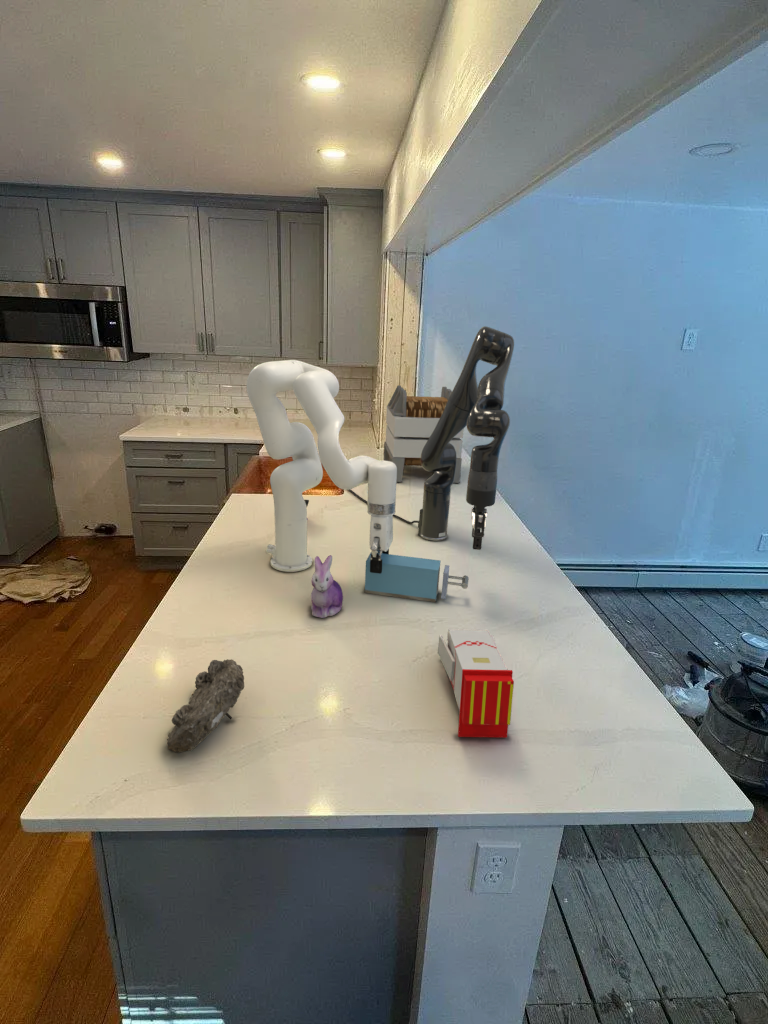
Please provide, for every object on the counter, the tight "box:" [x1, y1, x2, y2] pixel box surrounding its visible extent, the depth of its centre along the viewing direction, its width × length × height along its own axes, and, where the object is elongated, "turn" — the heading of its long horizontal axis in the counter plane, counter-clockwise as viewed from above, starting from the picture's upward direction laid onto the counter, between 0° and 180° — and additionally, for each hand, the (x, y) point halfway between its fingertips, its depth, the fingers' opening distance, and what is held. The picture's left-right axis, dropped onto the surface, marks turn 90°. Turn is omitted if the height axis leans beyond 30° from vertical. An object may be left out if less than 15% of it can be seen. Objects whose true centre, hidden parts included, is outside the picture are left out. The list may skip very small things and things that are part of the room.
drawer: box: [436, 564, 470, 600], centre depth 156 cm, size 24×5×8 cm, turn 79°
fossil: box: [166, 658, 245, 754], centre depth 106 cm, size 22×10×15 cm
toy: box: [437, 628, 515, 738], centre depth 117 cm, size 12×13×30 cm
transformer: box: [383, 384, 465, 484], centre depth 268 cm, size 34×33×41 cm
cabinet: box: [364, 552, 442, 603], centre depth 157 cm, size 20×6×10 cm, turn 79°
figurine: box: [310, 554, 344, 618], centre depth 145 cm, size 9×10×15 cm
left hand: (379, 565), depth 158 cm, fingers open, 9 cm apart
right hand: (476, 543), depth 153 cm, fingers open, 8 cm apart
